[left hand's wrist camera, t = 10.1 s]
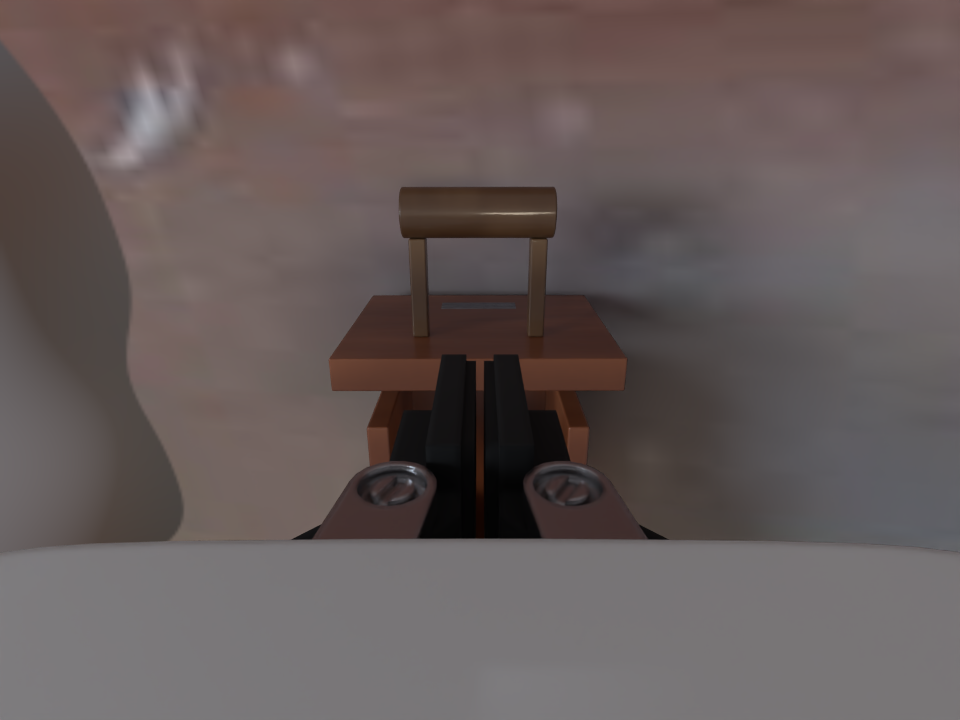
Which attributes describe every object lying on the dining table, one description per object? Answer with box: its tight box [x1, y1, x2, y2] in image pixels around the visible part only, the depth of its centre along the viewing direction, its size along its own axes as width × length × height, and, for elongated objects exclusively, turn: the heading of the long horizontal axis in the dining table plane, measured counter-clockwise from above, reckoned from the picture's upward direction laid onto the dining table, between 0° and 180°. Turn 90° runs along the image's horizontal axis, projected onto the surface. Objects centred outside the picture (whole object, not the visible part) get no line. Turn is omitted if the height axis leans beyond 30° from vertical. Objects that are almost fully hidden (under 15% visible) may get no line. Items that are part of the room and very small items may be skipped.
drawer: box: [329, 187, 627, 539], centre depth 25 cm, size 25×10×8 cm, turn 0°
